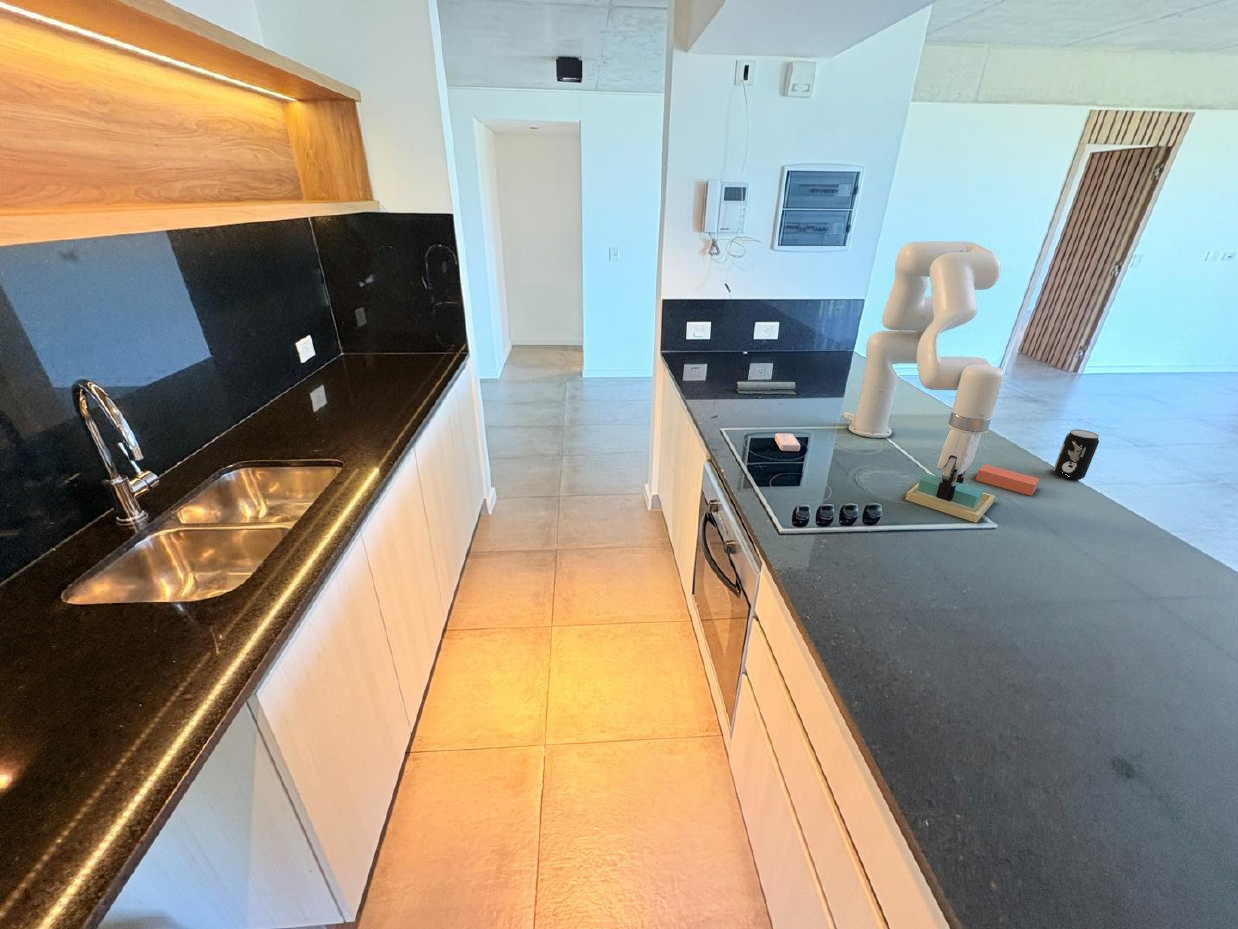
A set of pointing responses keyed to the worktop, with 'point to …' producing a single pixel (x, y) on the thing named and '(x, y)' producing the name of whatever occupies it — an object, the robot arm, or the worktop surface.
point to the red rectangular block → (1007, 479)
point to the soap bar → (787, 442)
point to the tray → (951, 504)
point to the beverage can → (1076, 454)
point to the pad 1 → (961, 494)
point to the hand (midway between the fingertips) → (947, 494)
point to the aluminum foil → (765, 387)
